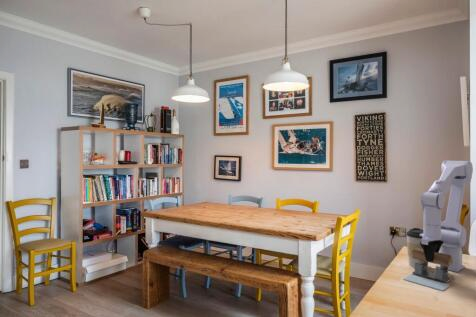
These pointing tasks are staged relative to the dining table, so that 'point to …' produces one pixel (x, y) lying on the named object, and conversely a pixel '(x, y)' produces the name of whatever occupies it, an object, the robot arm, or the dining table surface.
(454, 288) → the dining table surface
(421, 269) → the stand
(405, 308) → the dining table surface
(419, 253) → the rail
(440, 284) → the mat
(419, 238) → the coffee cup
